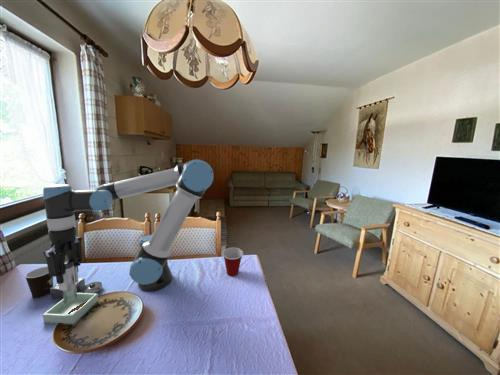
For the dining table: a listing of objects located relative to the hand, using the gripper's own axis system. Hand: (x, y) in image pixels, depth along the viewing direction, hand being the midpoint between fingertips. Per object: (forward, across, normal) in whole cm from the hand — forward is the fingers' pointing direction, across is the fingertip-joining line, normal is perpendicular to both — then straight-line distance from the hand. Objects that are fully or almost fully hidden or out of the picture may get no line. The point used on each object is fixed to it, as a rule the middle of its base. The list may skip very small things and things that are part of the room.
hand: (69, 285), depth 80 cm
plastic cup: (+11, -30, +59) cm, 67 cm away
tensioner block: (+11, -10, -10) cm, 18 cm away
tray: (+11, 0, 0) cm, 11 cm away
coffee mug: (+12, -11, -21) cm, 27 cm away
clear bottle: (+6, 0, 0) cm, 6 cm away
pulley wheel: (+11, -12, -1) cm, 16 cm away
